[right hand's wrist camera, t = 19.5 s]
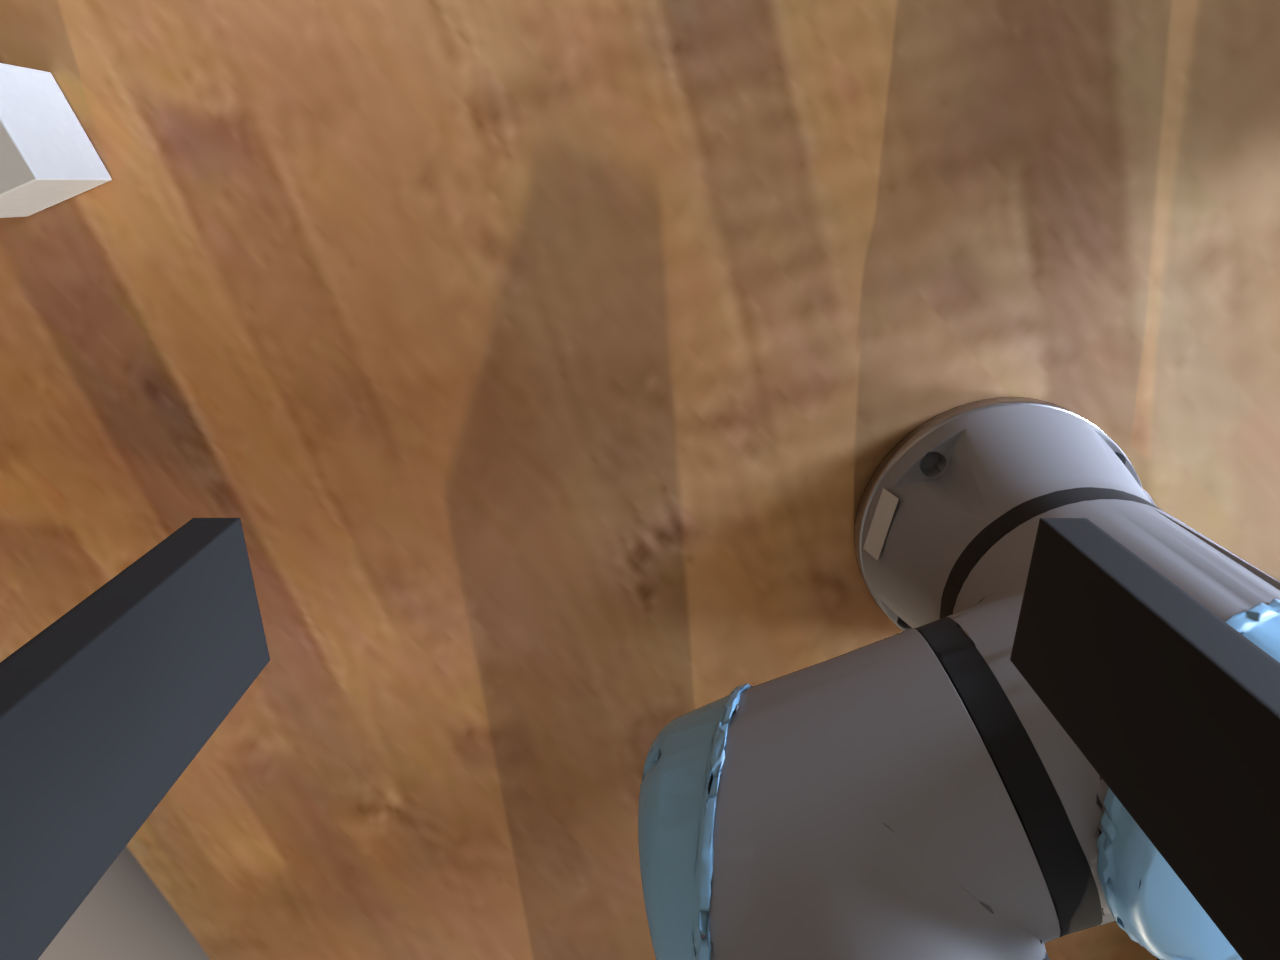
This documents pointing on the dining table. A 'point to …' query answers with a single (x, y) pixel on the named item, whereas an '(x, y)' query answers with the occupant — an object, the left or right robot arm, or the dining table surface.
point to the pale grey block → (41, 145)
